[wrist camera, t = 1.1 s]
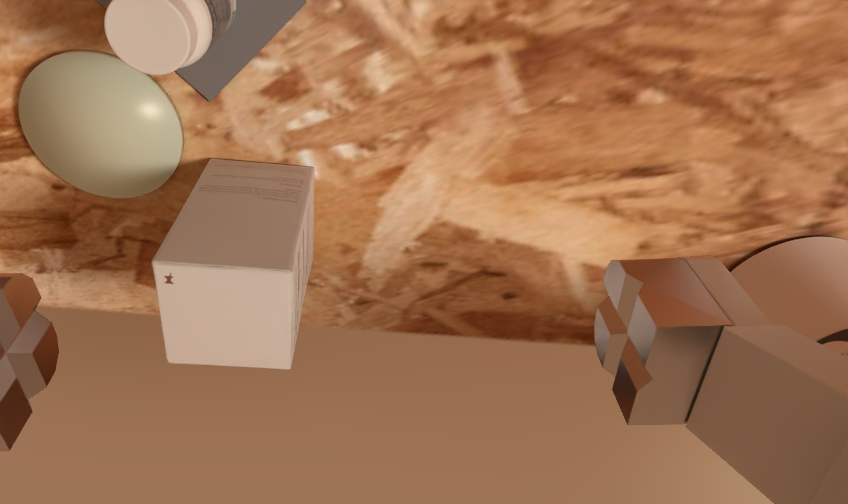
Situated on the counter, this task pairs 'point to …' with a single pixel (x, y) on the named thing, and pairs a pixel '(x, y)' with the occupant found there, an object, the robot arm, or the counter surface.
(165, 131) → the pale green domed disc
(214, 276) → the supplement box
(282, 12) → the grey flat square slab
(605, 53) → the counter surface
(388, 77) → the counter surface
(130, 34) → the pill bottle
